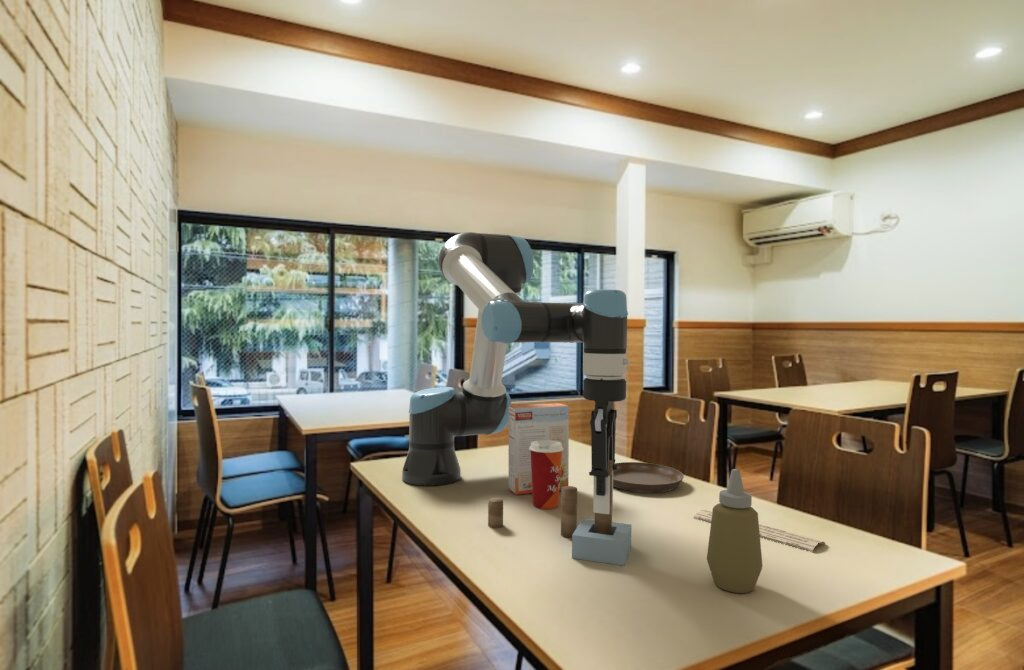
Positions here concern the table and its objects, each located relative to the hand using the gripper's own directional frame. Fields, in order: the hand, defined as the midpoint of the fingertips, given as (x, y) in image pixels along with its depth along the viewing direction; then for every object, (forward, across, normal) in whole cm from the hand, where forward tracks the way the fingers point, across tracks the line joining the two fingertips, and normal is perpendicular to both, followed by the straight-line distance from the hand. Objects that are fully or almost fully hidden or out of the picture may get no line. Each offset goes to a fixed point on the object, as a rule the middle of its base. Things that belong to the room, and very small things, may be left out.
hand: (603, 509), depth 100 cm
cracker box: (+8, +33, +22) cm, 40 cm away
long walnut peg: (+5, 0, 0) cm, 5 cm away
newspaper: (+9, +22, -27) cm, 36 cm away
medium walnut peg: (+8, +6, +8) cm, 12 cm away
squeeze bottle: (+8, -6, -21) cm, 24 cm away
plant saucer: (+8, +48, -2) cm, 49 cm away
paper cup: (+8, +22, +17) cm, 29 cm away
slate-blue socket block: (+8, 0, 0) cm, 8 cm away
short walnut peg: (+8, +6, +23) cm, 25 cm away
